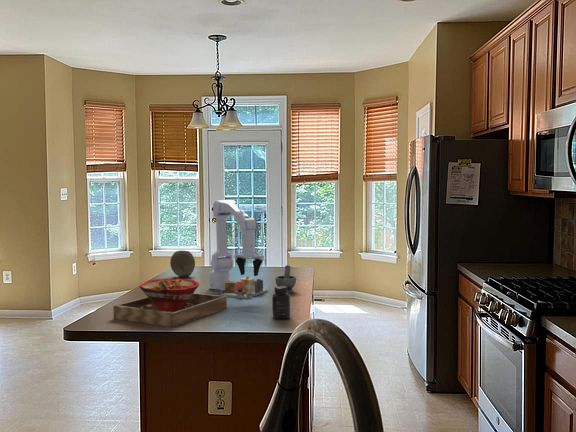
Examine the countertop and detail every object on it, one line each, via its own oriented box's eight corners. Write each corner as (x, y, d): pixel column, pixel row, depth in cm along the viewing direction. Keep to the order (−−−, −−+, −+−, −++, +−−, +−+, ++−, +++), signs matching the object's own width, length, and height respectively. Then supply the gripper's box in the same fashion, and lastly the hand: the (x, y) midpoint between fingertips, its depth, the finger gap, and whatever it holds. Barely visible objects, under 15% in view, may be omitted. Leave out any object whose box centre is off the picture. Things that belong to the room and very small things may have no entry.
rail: (220, 295, 248) (219, 290, 248) (223, 294, 251) (223, 289, 251) (248, 298, 241) (247, 293, 241) (251, 297, 244) (251, 292, 244)
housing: (240, 290, 254) (240, 277, 254) (245, 288, 258) (245, 275, 258) (249, 291, 252) (249, 278, 251) (254, 289, 256) (254, 276, 255)
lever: (235, 294, 245) (235, 281, 244) (238, 293, 247) (238, 280, 246) (241, 295, 243) (241, 282, 242) (245, 294, 245) (244, 281, 245)
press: (234, 294, 251) (233, 279, 251) (247, 290, 262) (247, 275, 261) (254, 296, 246) (254, 281, 246) (267, 291, 257) (267, 277, 256)
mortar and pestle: (293, 294, 251) (293, 268, 250) (274, 293, 253) (273, 267, 252) (297, 289, 262) (297, 264, 262) (279, 288, 264) (278, 264, 263)
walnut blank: (225, 293, 255) (224, 282, 255) (228, 291, 259) (228, 281, 259) (235, 293, 254) (235, 283, 254) (238, 291, 258) (238, 281, 258)
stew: (186, 323, 199) (185, 280, 198) (124, 322, 201) (123, 279, 201) (207, 306, 226) (206, 268, 225) (152, 305, 229) (151, 268, 228)
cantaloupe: (201, 276, 304) (200, 249, 303) (183, 280, 292) (182, 252, 291) (182, 274, 312) (181, 248, 311) (164, 277, 300) (164, 251, 299)
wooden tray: (113, 318, 207) (113, 305, 207) (171, 301, 236) (170, 290, 236) (173, 327, 193) (173, 313, 193) (226, 308, 223) (226, 296, 222)
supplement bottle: (271, 316, 208) (271, 285, 208) (289, 315, 209) (289, 284, 208) (273, 320, 202) (272, 288, 201) (291, 319, 202) (290, 288, 202)
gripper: (230, 245, 241) (230, 275, 242) (258, 246, 234) (258, 277, 235) (238, 243, 247) (239, 273, 248) (266, 245, 241) (266, 275, 241)
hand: (249, 275), depth 242 cm, fingers open, 6 cm apart
